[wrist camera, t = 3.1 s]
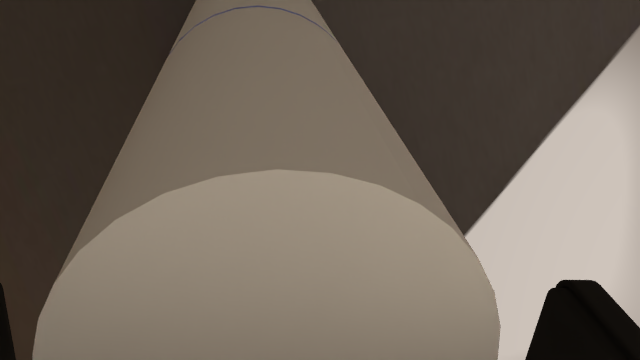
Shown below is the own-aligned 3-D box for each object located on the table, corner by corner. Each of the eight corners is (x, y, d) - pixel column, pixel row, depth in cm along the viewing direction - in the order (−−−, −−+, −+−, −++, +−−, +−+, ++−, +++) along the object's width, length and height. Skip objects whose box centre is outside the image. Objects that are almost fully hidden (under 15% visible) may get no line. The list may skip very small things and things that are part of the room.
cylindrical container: (232, -64, 29) (184, 63, 6) (344, 15, 31) (590, 306, 9) (165, 53, 31) (-44, 448, 9) (274, 118, 33) (332, 559, 11)
